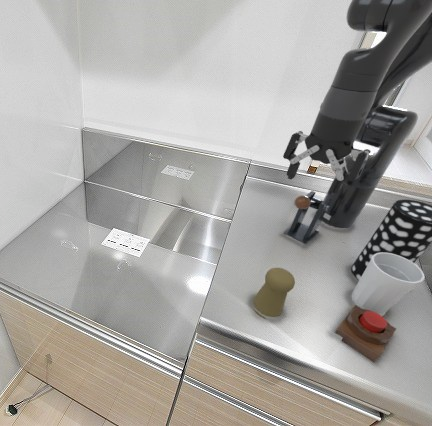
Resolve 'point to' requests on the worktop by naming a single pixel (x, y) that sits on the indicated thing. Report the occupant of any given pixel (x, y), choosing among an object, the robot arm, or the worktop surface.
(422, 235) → the white-spotted black cylinder
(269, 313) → the cork
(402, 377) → the worktop surface
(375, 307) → the cup
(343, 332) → the button block
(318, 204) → the lever
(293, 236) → the lever bracket
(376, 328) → the button
